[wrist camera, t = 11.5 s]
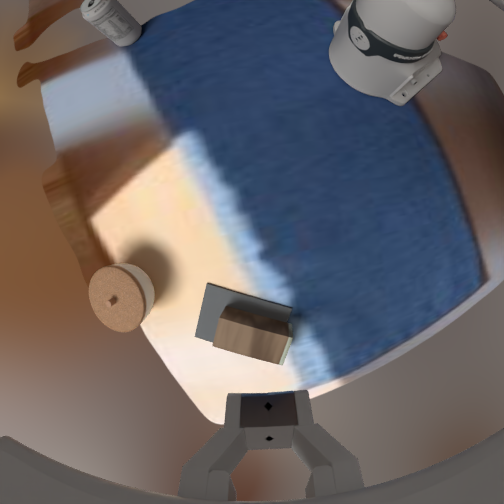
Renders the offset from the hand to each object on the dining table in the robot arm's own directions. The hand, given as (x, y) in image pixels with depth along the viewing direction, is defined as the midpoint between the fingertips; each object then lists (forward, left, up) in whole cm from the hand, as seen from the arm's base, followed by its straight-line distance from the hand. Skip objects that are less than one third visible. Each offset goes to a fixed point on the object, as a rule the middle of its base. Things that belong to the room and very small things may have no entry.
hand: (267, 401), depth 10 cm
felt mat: (+11, +7, -33) cm, 36 cm away
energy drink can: (+1, -51, -34) cm, 61 cm away
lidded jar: (+24, -7, -34) cm, 42 cm away
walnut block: (+6, +13, -31) cm, 34 cm away
